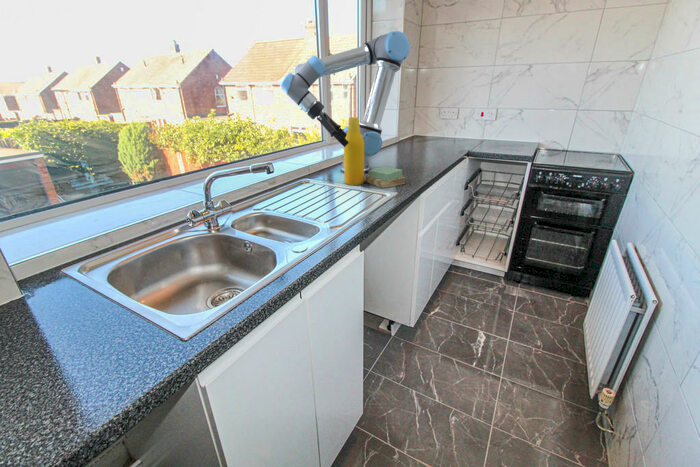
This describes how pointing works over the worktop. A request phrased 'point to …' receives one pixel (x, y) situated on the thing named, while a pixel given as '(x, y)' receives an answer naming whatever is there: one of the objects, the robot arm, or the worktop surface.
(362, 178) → the beer bottle
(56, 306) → the worktop surface
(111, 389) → the worktop surface
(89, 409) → the worktop surface
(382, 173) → the top block
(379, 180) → the base block
